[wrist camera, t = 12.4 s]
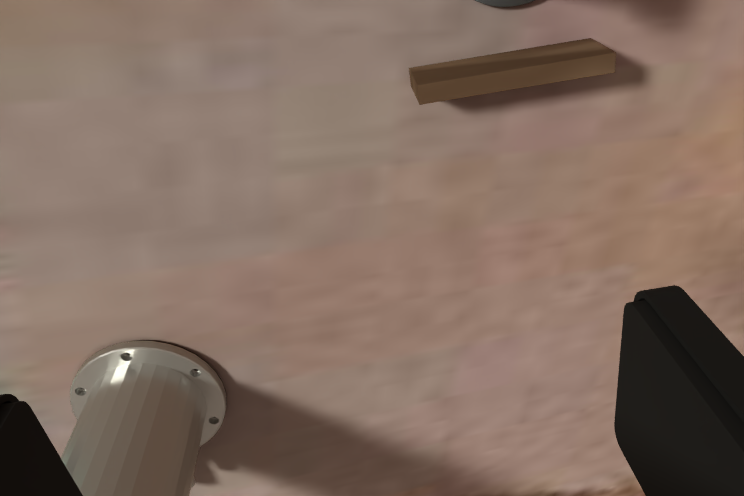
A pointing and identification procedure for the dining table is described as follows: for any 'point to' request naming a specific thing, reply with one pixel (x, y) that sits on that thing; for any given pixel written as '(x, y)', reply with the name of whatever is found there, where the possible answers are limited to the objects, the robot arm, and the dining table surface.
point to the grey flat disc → (504, 2)
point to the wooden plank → (511, 70)
